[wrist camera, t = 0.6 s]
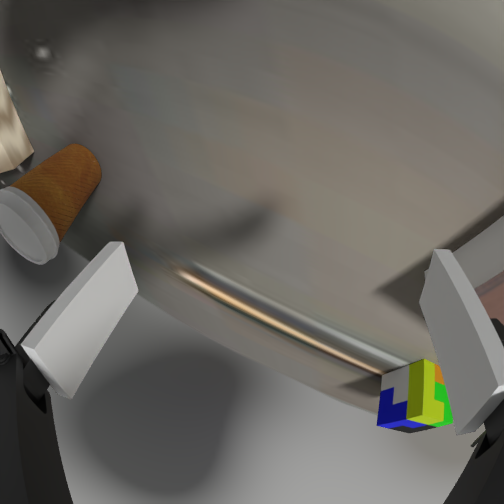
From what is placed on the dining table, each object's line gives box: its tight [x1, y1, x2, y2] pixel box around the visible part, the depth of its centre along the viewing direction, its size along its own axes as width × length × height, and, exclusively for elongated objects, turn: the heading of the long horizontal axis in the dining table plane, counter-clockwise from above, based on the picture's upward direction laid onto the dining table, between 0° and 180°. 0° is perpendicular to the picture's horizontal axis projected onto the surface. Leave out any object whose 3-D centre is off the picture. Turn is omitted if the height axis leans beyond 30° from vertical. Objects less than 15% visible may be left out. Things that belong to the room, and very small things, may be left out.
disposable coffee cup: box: [0, 144, 101, 265], centre depth 28 cm, size 10×10×12 cm
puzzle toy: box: [377, 359, 453, 433], centre depth 45 cm, size 10×10×10 cm
